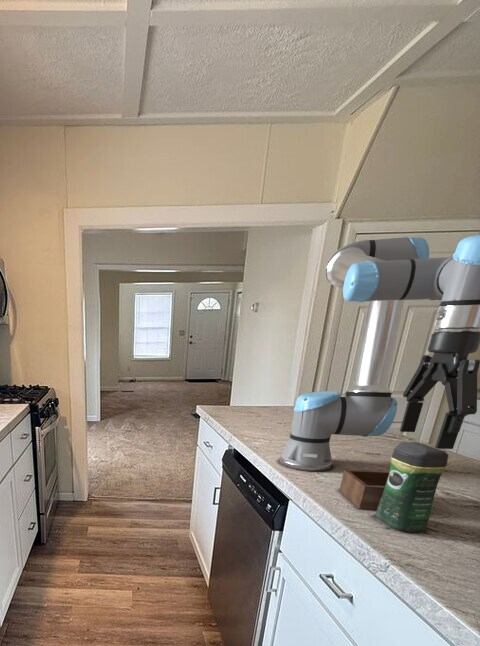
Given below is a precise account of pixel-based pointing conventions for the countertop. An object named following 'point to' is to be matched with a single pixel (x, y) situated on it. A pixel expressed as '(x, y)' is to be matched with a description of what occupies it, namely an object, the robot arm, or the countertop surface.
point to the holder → (364, 487)
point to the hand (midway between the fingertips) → (424, 439)
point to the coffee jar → (411, 486)
